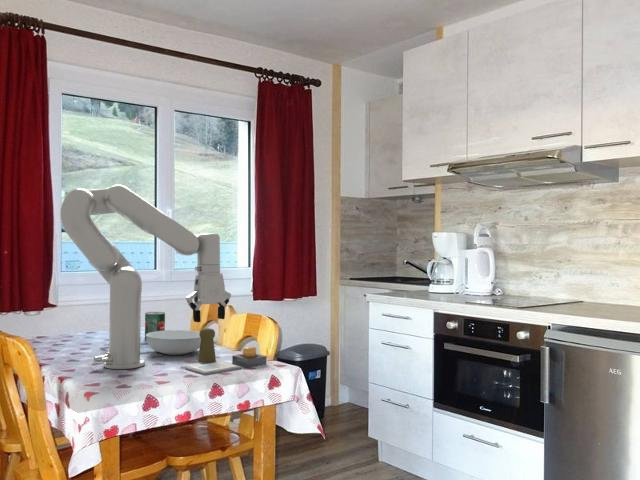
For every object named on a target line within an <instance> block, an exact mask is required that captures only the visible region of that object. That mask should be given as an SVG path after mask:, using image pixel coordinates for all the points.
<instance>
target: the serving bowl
mask: <svg viewBox="0 0 640 480" xmlns="http://www.w3.org/2000/svg"><path fill="white" fill-rule="evenodd" d="M199 333H200V331H198V330H197V331H196V330H189V329H188V330H187V329H185V330H182V329H181V330H180V329H178V330H177V329H174V330H173V329H171V330H166V329H165V331H156V332H151V333H148V334H146V340H147V341H146V342H147V345H148V347H149V348H150V349H152V351H155V352H157V353H161V354H164V355H166V356H167V355H168V356H181V355H182V356H183V355H186V354H189V353H192V352H195V351H197V350H199V349H200V343H201V338H200V335H199Z"/></svg>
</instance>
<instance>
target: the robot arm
mask: <svg viewBox="0 0 640 480" xmlns="http://www.w3.org/2000/svg"><path fill="white" fill-rule="evenodd" d="M114 213H116V214H118V215H119V216H121V217H122V218H124V219H125V220H127V221H128V222H130V223H131V224H133V225H134V226H135V227H137V228H139V229H140V230H141V231H143V232H145V233H147V234H150V235H152V236H154V237H156V238H157V239H159V240H161V241H162V242H164V243H165V244H167V245H168V246H170V247H171V248H173V249H174V251H176V253H177V254H179V255H181V256H192V255H195V254H197V256H196V257H197V258H196V259H197V260H196V261H197V263H196V266H195V267H194V271H195V272H197V273H196V274H195V278H194V285H193V292H192V293H191V294H189V295H187V296H186V297H185V300H186V302H187V305H188V307H190V309H191V310H192V319H193V322H195V323H201V310H200V308H201V307H202V305H210V304H217V305H218V307H217V319H219V320H225V318H226V308H227V306H228V304H229V303H230V299H231V297H232V294H231V292H229V291H227V290H226V288H225V287H226V286H225V278H224V275H223V273H221V238H220V235H219V234H218V233H211V232H209V233H208V232H206V233H205V232H204V233H200V234H198V233H197V234H196V233H193V232H192V231H190V230H189V229H187V228H186V227H185V226H183V225H182V224H180V223H179V222H177V221H176V220H174V219H173V218H171V217H170V216H168V215H167V214H166V213H165V212H163V211H162V210H160V209H158V208H157V207H156V206H155V205H153V204H151V203H150V202H148V201H147V200H146V199H144V198H143V197H142V196H140V195H139V194H137V193H135V191H133V190H131V189H130V188H128V187H127V186H125V185H122V184H114V185H111V186H110V187H107V188H100V189H99V188H98V189H97V188H96V189H85V188H81V187H77V188H73V189H72V190H70V191H69V192H68V193H67V194H66V195H65V197H64V198H63V201H62V203H61V207H60V215H59V216H60V221H61V225H62V227H63V230H64V231H65V233H66V234H67V236H68V237H69V238H70V239H71V240H72V242H73V243H74V244H75V246H76V247H77V248H78V249H79V251H80V252H81V253H82V254H83V255H84V257H85V259H86V260H87V261H88V262H89V264H90V266H92V267H93V268H94V269H95V270H96V271H97V272H98V274H100V276H102V278H103V279H104V280H105V282H107V284H108V285H109V331H108V332H109V335H108V337H109V339H108V340H109V341H108V344H109V345H108V351H106V352H105V354H103V355H97V356H93V362H94V363H95V364H96V363H97V364H98V363H103V367H104V368H106V369H111V370H129V369H136V368H141V367H143V366H144V365H146V361H145V360H144V359H142V358H141V327H142V326H141V325H142V324H141V321H142V320H141V318H142V317H141V314H142V313H141V311H142V310H141V309H142V307H141V305H142V291H143V290H142V289H143V288H142V287H143V283H142V282H143V281H142V277H141V275H140V273H139V272H138V271H137V270H136V269H135V268H134V267H133V265H132V264H131V263H130V262H129V261H128V260H127V259H126V257H125V256H124V255H123V254H122V253H121V251H120V249H118V248H117V246H116V245H115V244H114V243H112V242H111V241H110V240H109V239H108V238H107V237H106V236H105V234H104V233H102V231H101V229H99V227H98V226H97V224H95V222H94V221H93V219H92V218H91V216H97V215H107V214H114ZM193 301H194V302H193Z"/></svg>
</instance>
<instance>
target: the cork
mask: <svg viewBox="0 0 640 480" xmlns="http://www.w3.org/2000/svg"><path fill="white" fill-rule="evenodd" d="M199 332H200V333H199V335H200V338H201V343H200V348H199V349H198V350H199V351H198V358H197V362H198V363H200V364H209V363H215V362H217V360H216V359H217V358H216V351H215V350H216V349H215V340H214V338H215V336H216V331H215V330H214V329H213V328H207V327H206V328H202V329H200V331H199Z"/></svg>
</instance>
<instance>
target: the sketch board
mask: <svg viewBox="0 0 640 480" xmlns="http://www.w3.org/2000/svg"><path fill="white" fill-rule="evenodd" d="M241 369H243V367H242V366H238V365H235V364H232V363H228V362H226V361H218V362H217V361H216V362H213V363H202V364H197V365H190V366H185V370H187V371H191V372H192V373H193V372H194V373H197V374H200V375H204V376H206V375H213V374H219V373H224V372H230V371H237V370H241Z"/></svg>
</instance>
